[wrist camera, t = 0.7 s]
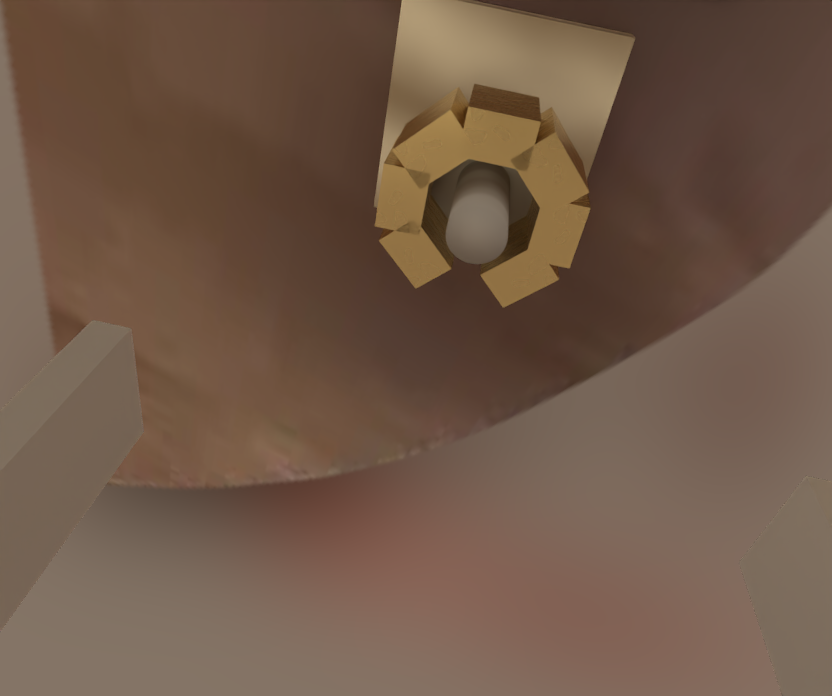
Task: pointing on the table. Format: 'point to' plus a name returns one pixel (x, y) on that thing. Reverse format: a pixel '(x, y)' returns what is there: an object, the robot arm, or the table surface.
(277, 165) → the table surface
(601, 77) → the peg stand
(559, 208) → the c link
